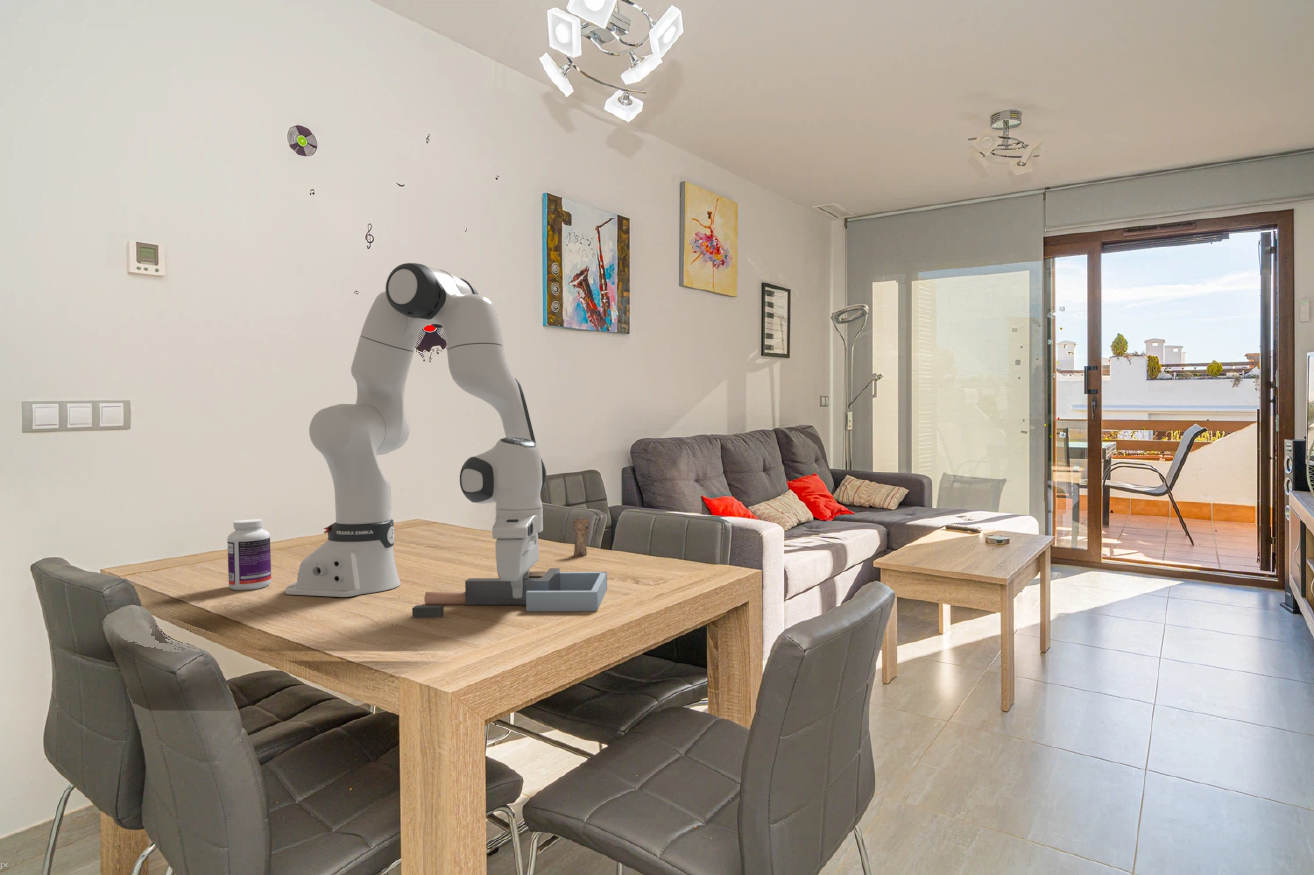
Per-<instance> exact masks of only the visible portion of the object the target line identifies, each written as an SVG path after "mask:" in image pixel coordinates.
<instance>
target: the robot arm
mask: <svg viewBox="0 0 1314 875" xmlns="http://www.w3.org/2000/svg"><path fill="white" fill-rule="evenodd" d="M430 325H431V326H432V327H434V328H435V329H442V328H443V331H444V334H445V339H446V340H445V343H446V352H447V363H448V369H449V372H450V376H451V378H452V380H453V382H455V383H454V384H456V385H457V386H458V387H459V388H461V389H462V391H464V392H466V393H467V394H469V395H472V396H474V397H476V398H477V399H478V398H479V399H480V400H482V401H484V402H486V403H487V404H488V405H490V406H492V408H494V409H495V410H496V411H497V413H498V414H499V416H500V418H501V422H502V426H503V430H504V435H505V437H503V438H500V439H498V440H497V442H496V443H495V445H494V446H493V447H492V448H490V449H489V450H487V451H484V452H482V453H480V454H477V455H474V456H470V457H468V458H467V459H466V460H465V461H464V463H463V465H462V466H461V469H460V473H459V486H460V489H461V492H462V494H463V495H464V497H465V498H466V499H467V500H469V501H470V502H471V503H476V504H492V503H493V504H494V503H495V520H494V524H493V525H492V528H491V529H492V530H491V531H492V533H491V537H492V539H496V540H495V561H496V562H495V563H496V572H497V578H499V579H500V581H510V582H511V586H512V589H513V598H521V597H522V596H523V595H524V588H523V583H522V580H523V578H529V571H530V569H531V568H532V567H533V566H534V565H536V564H537V563H538V561H539V558H540V557H539V555H540V554H539V553H540V552H539V551H540V550H539V534H538V533H542V532H543V530H544V523H543V522H544V517H543V514H544V512H543V507H544V506H543V502H542V497H541V493H542V491H543V490H544V488H545V486H546V482H547V469H546V466H545V464H544V461H543V459H542V456H541V452H540V448H539V446H538V444H537V441H536V436H535V434H534V430H533V429H534V428H533V426H532V422H531V416H530V413H529V408H528V405H527V400H526V398H525V394H524V391H523V388H522V386H521V384H520V382H519V380H518V379H517V378H516V377H514V374H513V373H512V371H511V370H510V367H509V364H508V361H507V359H506V354H505V348H504V342H503V341H504V340H503V334H502V330H501V325H500V321H499V318H498V314H497V310H496V308H495V305H494V303H493V302H492V300H490V299H489V298H488V297H486V296H483V295H481V294H479V293H478V291H477V289H476V288H475V287H474V286H473V285H472V284H471V283H470V282H468V281H467V280H466V279H465V278H460V277H458V276H456V275H455V274H452V273H451V272H448V271H445V270H444V269H437V268H433V267H430V266H427V265H424V264H423V263H417V262H406V263H403V264H399V265H397V266H396V267H395V268H394V269H392V271H391V272H390V273H389V275H388V277H387V280H386V282H385V291H383V292H380V293H379V294H378V295H377V296H376V298H374V301H373V303H372V305H371V307H370V308H369V311H368V313H367V316H366V318H365V320H364V324H363V325H362V329H361V331H360V335H359V339H358V342H357V346H356V350H355V353H354V356H353V360H352V362H351V367H350V373H351V376H352V377H353V379H354V380H355V383H356V389H357V391H356V402H355V404H354V403H341V404H340V403H339V404H334V405H331V406H328V407H325V408H322V409H320V410H318V411H317V412H316V413H315V414H314V415H313V417H312V418H311V421H310V424H309V429H308V430H309V431H308V432H309V438H310V441H311V443H312V445H313V446H314V448H315V449H316V450H317V451H319V453H320V454H322V456H323V457H324V460H325V461H326V462H325V463H326V464H327V466H328V469H329V472H330V475H331V479H332V482H333V489H334V502H335V503H334V508H335V522H333V523H331V524H330V525H328V526H327V527H323V530H325V531H323V534H327V540H326V541H325V542H324V543H323V544H321V545H320V546H319V547H317V548H316V549H315V550H314V551H312V552H311V553H310V554H309V555H308V556H306V557H305V558H304V559H303V560H302V561H301V562H300V564H299V567H298V571H297V579H296V581H295V582H293V583H290V584H289V585H288V586H286V588H285V593H284V594H285V595H296V596H313V597H314V596H317V597H338V598H348V597H349V598H350V597H354V596H355V597H356V596H359V595H364V594H372V593H373V594H374V593H378V592H384V591H387V590H392V589H395V588H397V587H399V586H400V585H401V584H402V583H401V579H400V577H399V574H398V571H397V566H396V565H397V564H396V560H395V552H394V545H395V526H394V525H395V524H394V519H393V518H392V486H391V483H390V481H389V479H387V477H386V476H385V475H384V474H383V472H382V470H381V467H380V464H379V461H378V455H379V456H380V455H381V456H382V455H386V454H390V453H391V452H394V451H396V450H398V449H400V448H401V447H402V446H404V445H405V444H406V442H407V441H408V438H409V436H410V423H409V420H408V419H407V417H406V414H405V387H406V383H407V378H408V374H409V372H410V371H409V370H410V367H411V364H412V360H413V356H414V353H415V350H416V347H417V342H418V338H419V336H420V334H421V331H422V330H423V329H424V328H425V327H427V326H430Z"/></svg>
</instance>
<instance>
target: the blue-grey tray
mask: <svg viewBox="0 0 1314 875" xmlns="http://www.w3.org/2000/svg"><path fill="white" fill-rule="evenodd" d="M607 590H608V571H560V591H527V592H526V605H525V606H526V607H525V608H526V612H597V611H598V610H599V608H600V605H601V603H602V601H603V599H604V597H605V594H606V593H607Z"/></svg>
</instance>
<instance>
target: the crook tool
mask: <svg viewBox="0 0 1314 875" xmlns="http://www.w3.org/2000/svg"><path fill="white" fill-rule="evenodd" d="M560 572H561V568H559V567H556V568H555V567H554V568H553V567H551V568H549V569H548V570H547V572H546V573H545V574H544V575H543V576H542V577H541V578H523V580H522V583H523V588H524V595H523V596H522V597H521V598H513V589H512V586H511V582H510V581H500V579H499V577H497V578H496V577H483V578H481V577H479V578H478V577H477V578H475V577H472V578H470V577H469V578H467V579H466V580H464V581H465V582H464V583H465V584H464V586H465V587H464V588H465V590H464V592H465V596H466V604H465V605H466V606H467V605H471V606H472V605H477V606H478V605H479V606H481V605H485V606H486V605H488V606H489V605H495V606H496V605H503V606H504V605H510V606H511V605H517V606H518V605H519V606H520V605H521V606H522V605H525V606H526V592H527V591H561V590H560Z"/></svg>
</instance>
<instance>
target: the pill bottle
mask: <svg viewBox="0 0 1314 875" xmlns="http://www.w3.org/2000/svg"><path fill="white" fill-rule="evenodd" d="M263 527H264V519H261V518H252V519H251V518H250V519H247V518H246V519H240V520H234V521H233V529H234V531H233V532H231V533H230V534H229V535H228V536H227V537H226V540H227V570H228V571H227V572H228V575H227V576H228V587H229V588H230V590H234V591H252V590H259V589H263V588H266V587H268V586H269V585H270V584H271V582H272V561H271V559H272V558H271V555H272V554H271V535H270V532H269V531H267V530H266V529H263Z"/></svg>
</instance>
